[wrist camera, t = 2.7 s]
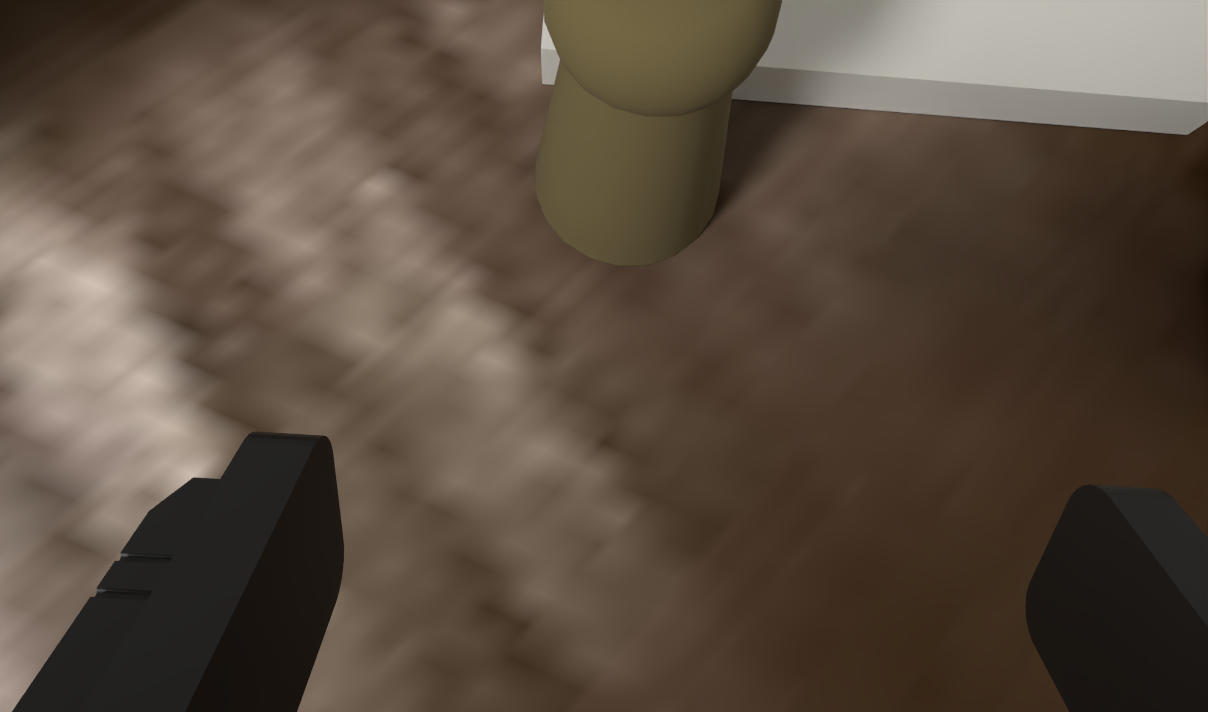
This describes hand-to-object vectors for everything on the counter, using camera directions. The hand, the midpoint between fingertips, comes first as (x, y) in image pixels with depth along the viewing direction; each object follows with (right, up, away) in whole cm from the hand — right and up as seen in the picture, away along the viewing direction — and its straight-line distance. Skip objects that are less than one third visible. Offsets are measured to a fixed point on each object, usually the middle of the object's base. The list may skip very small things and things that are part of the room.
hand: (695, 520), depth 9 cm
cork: (0, +8, +18) cm, 20 cm away
